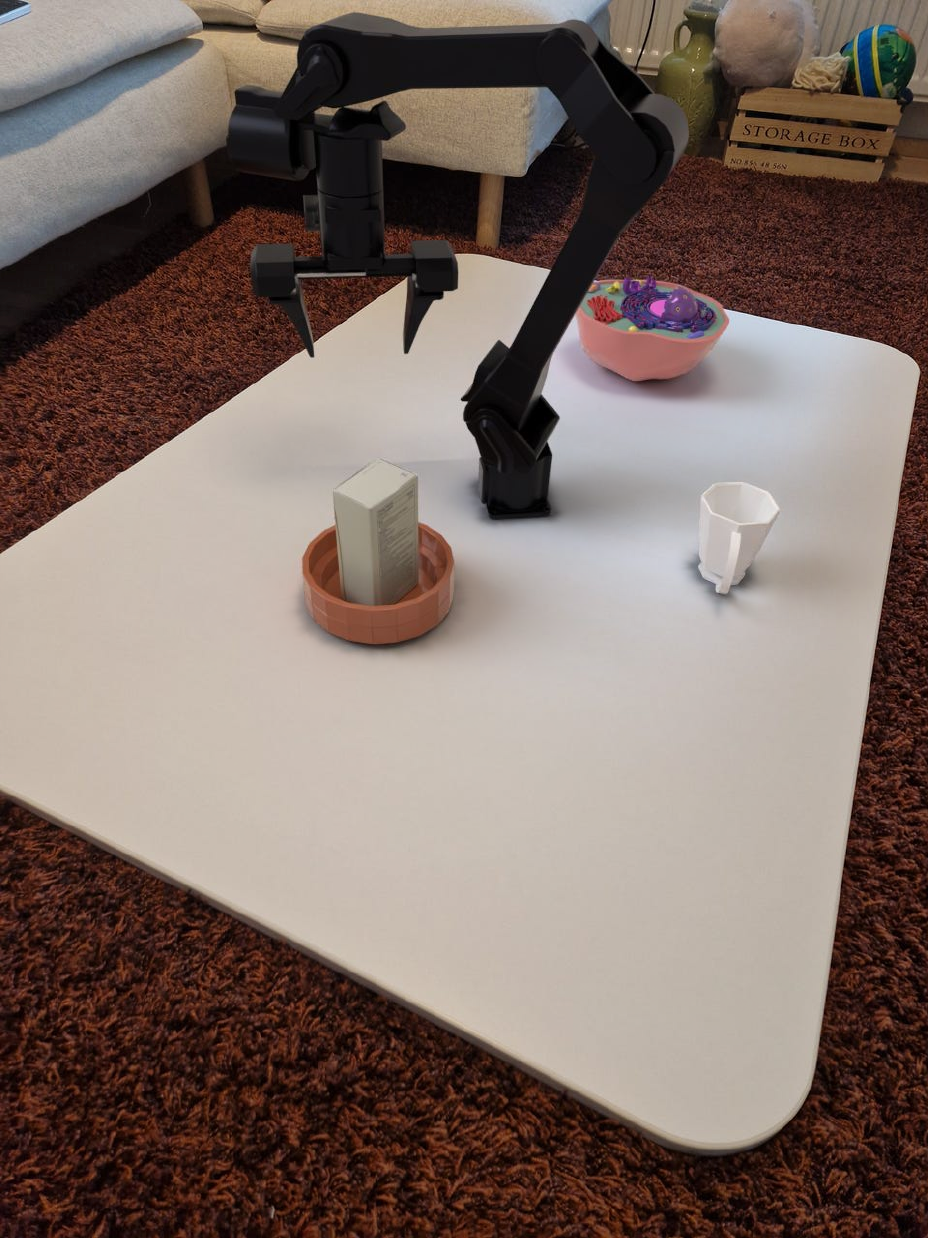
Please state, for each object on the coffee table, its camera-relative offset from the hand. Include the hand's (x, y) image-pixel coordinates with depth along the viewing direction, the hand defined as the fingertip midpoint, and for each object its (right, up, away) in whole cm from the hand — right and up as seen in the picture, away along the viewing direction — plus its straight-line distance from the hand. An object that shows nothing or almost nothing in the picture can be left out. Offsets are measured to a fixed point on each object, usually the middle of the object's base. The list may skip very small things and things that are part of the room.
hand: (359, 353), depth 91 cm
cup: (+35, -23, -4) cm, 42 cm away
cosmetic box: (+3, -24, -7) cm, 25 cm away
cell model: (+33, +6, +27) cm, 43 cm away
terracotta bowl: (+3, -24, -7) cm, 26 cm away
